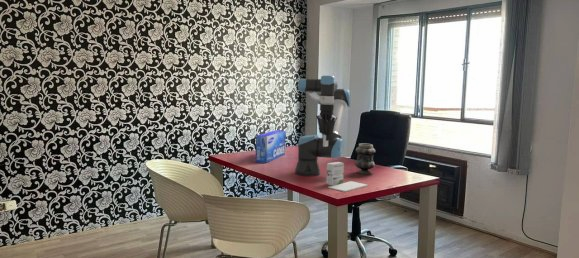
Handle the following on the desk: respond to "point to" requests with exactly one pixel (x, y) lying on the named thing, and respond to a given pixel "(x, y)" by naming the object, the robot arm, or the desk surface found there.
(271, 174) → the desk surface
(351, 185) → the mat
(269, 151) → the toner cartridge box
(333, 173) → the ink box
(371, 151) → the apothecary jar
